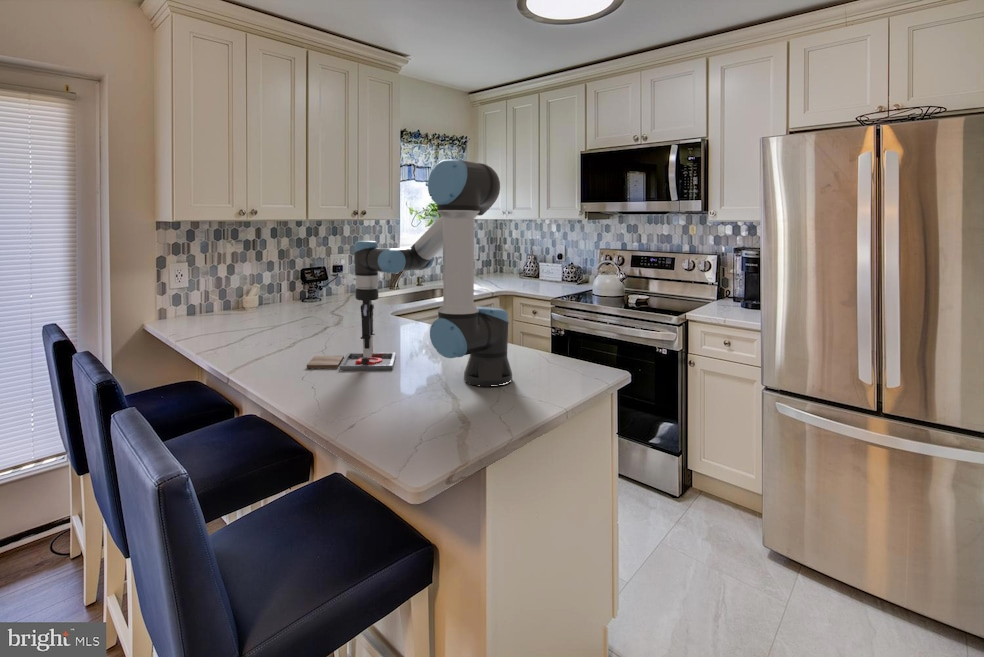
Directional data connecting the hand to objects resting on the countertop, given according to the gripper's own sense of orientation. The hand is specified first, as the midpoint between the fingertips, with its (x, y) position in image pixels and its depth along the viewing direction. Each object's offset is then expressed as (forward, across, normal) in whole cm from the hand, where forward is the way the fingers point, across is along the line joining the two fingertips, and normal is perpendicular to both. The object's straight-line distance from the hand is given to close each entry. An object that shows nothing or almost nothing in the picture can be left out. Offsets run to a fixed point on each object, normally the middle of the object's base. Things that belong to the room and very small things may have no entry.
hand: (368, 355), depth 178 cm
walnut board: (+3, 0, -14) cm, 14 cm away
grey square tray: (+3, 0, 0) cm, 3 cm away
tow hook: (+3, -3, 0) cm, 4 cm away
